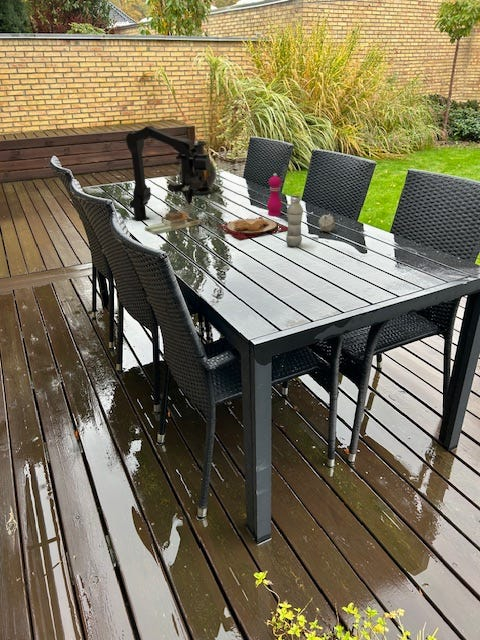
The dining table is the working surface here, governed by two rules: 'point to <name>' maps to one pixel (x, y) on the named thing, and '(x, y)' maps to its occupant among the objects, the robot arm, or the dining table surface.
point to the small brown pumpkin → (326, 223)
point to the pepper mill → (274, 196)
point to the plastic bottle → (294, 222)
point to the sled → (181, 216)
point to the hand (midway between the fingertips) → (189, 203)
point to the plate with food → (251, 227)
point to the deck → (174, 225)
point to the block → (172, 216)
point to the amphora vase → (203, 171)
